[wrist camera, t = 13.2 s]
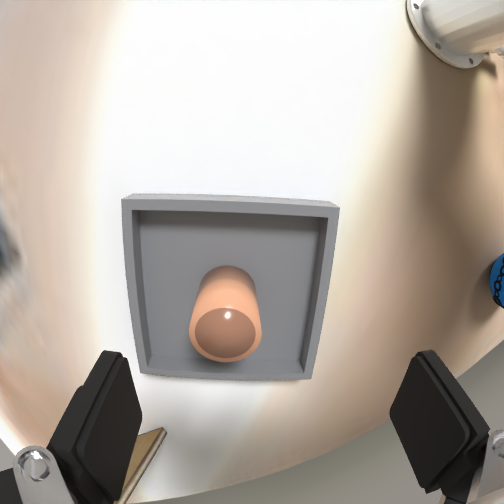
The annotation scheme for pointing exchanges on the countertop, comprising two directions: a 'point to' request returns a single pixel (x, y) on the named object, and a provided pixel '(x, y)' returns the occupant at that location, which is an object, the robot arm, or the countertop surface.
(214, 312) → the terracotta cup
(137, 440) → the picture frame
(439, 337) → the countertop surface
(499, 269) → the ornament
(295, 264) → the grey square tray
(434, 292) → the countertop surface
